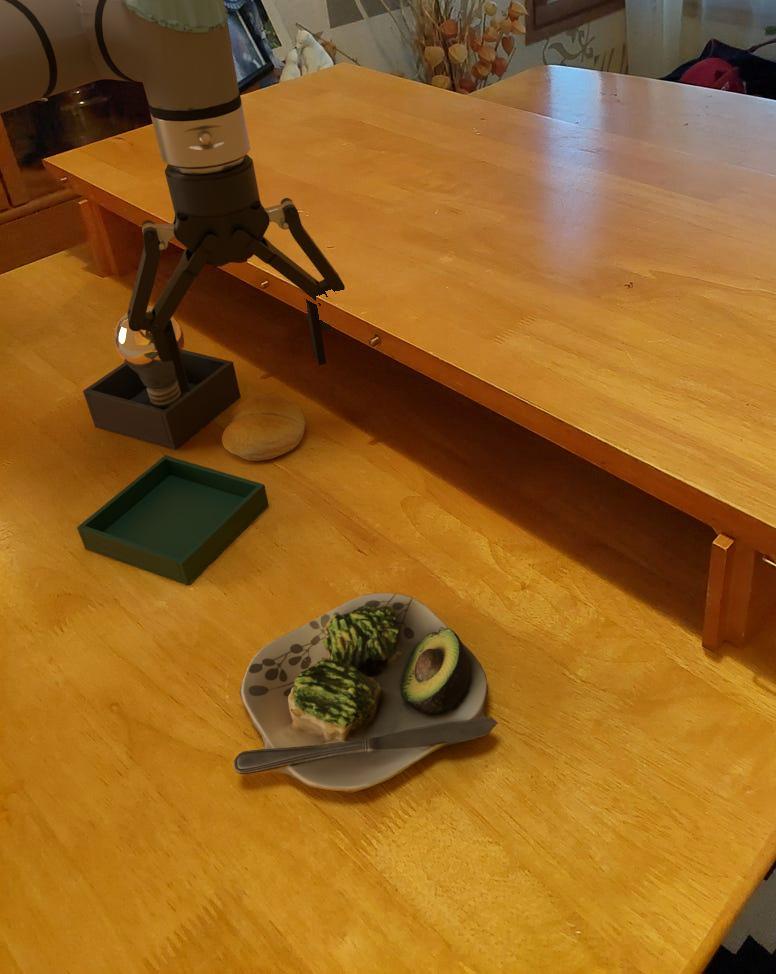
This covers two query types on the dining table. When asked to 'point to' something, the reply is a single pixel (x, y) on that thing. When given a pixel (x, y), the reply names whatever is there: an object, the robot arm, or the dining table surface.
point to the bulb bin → (130, 412)
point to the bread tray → (174, 518)
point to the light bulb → (149, 361)
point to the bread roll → (264, 428)
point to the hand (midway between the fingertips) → (253, 372)
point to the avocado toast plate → (362, 694)
